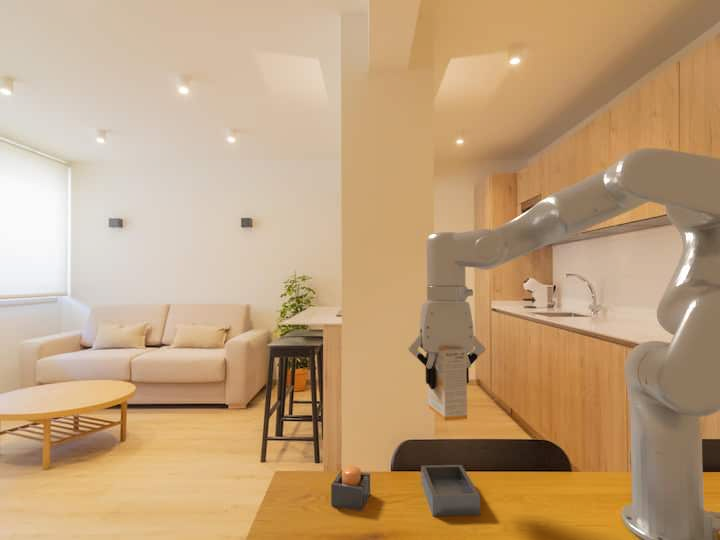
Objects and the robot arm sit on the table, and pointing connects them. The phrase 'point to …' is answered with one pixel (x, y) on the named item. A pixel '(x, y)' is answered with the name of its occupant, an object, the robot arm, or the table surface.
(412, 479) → the table surface
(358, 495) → the button housing
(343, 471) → the button
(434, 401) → the supplement box
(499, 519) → the table surface
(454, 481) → the tray
